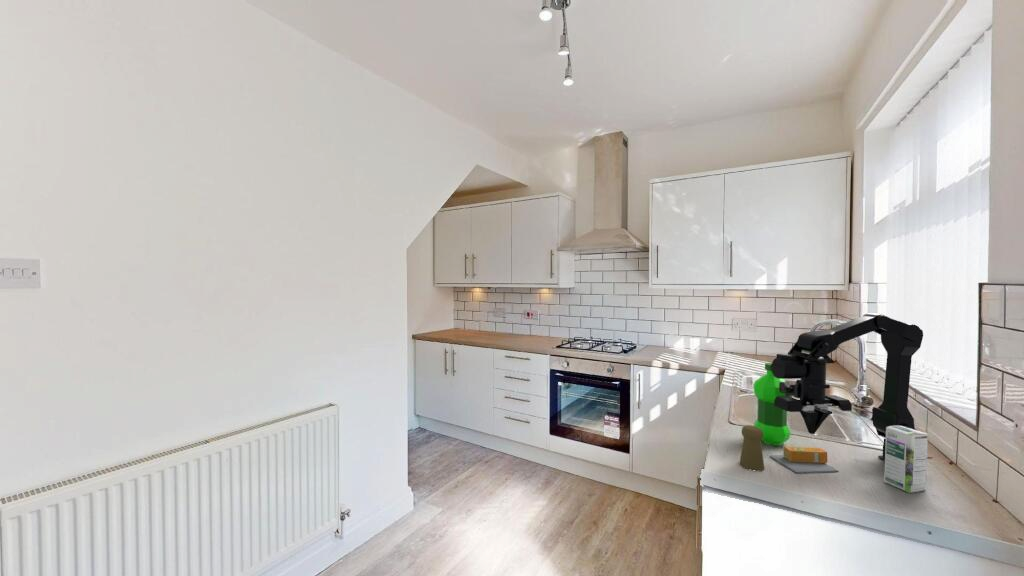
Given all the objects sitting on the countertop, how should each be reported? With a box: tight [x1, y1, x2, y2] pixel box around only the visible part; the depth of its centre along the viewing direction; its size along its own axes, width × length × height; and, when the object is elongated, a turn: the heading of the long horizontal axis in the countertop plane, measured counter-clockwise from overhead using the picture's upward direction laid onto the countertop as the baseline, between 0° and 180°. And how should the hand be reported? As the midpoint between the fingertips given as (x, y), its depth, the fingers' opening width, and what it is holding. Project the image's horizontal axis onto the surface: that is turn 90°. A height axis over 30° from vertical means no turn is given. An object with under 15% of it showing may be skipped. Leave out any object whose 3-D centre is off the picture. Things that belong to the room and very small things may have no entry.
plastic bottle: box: [752, 362, 793, 446], centre depth 127 cm, size 10×11×25 cm
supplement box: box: [782, 446, 828, 464], centre depth 114 cm, size 3×3×10 cm
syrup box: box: [883, 425, 929, 494], centre depth 100 cm, size 6×6×14 cm
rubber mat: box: [769, 454, 839, 474], centre depth 113 cm, size 12×10×1 cm
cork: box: [739, 424, 765, 472], centre depth 111 cm, size 6×6×11 cm
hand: (811, 433), depth 113 cm, fingers closed
